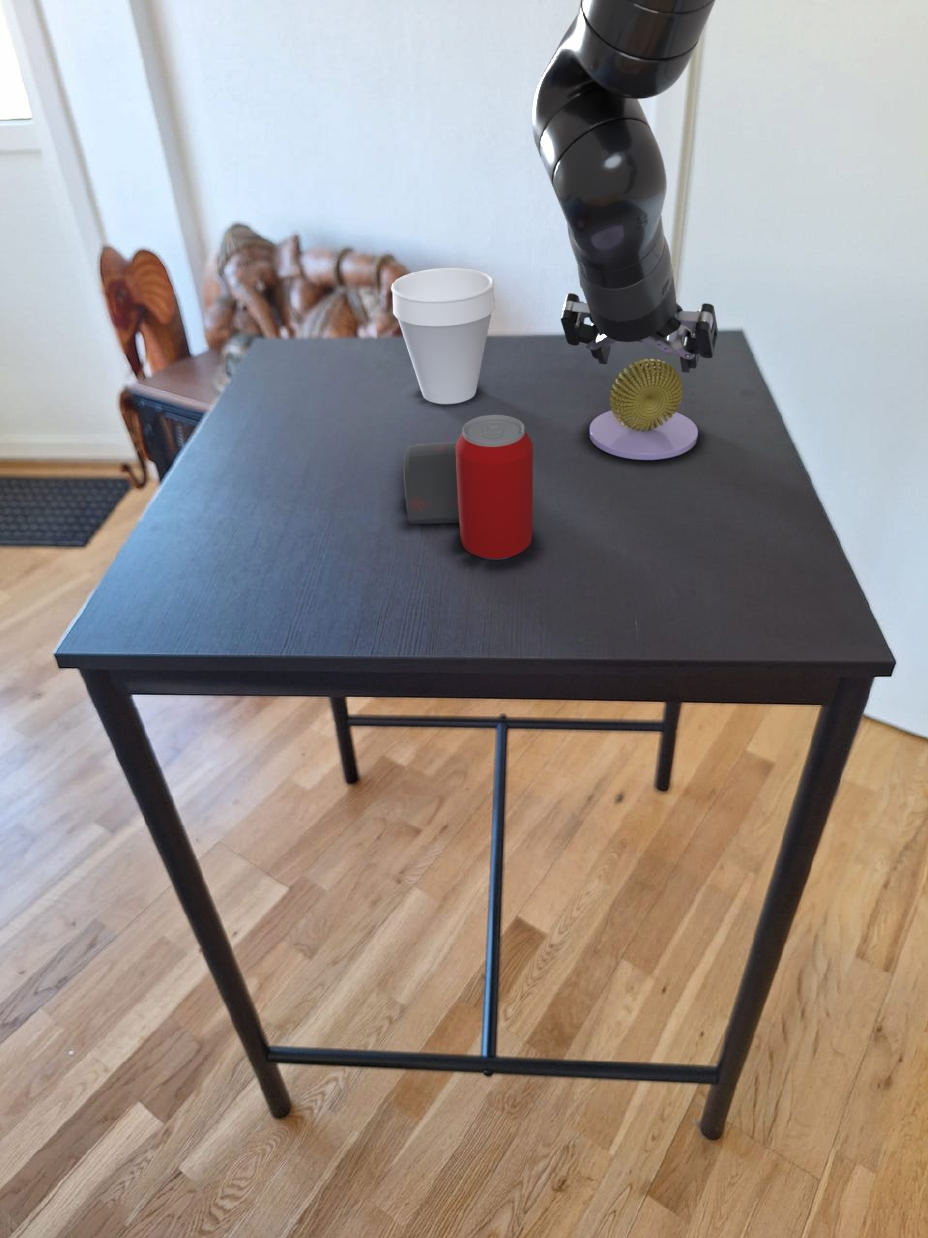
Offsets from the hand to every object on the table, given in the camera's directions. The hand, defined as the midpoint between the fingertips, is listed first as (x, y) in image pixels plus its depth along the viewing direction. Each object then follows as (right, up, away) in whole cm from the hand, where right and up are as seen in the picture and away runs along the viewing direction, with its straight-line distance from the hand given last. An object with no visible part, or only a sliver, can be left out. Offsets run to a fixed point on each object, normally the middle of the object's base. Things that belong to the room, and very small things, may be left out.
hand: (645, 359), depth 86 cm
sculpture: (+2, -5, +9) cm, 10 cm away
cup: (-21, +2, +21) cm, 30 cm away
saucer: (+2, -6, +9) cm, 11 cm away
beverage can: (-16, -20, -7) cm, 26 cm away
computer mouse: (-21, -13, +2) cm, 25 cm away
